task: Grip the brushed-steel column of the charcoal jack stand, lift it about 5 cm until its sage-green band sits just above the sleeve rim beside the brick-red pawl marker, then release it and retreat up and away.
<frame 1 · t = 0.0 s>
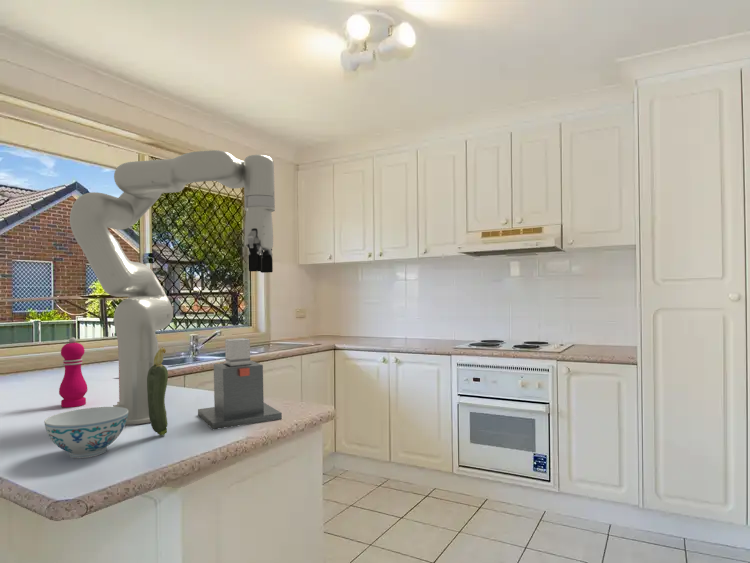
hand: (261, 271, 129), 37 cm above the counter, tool pointing down, fingers open, 9 cm apart
vegetable: (158, 436, 115), on the counter
chinaware: (88, 453, 104), on the counter
stand base: (238, 416, 131), on the counter
pepper mill: (73, 405, 149), on the counter
column: (238, 374, 131), point 11 cm above the counter, slide at 0.0 cm
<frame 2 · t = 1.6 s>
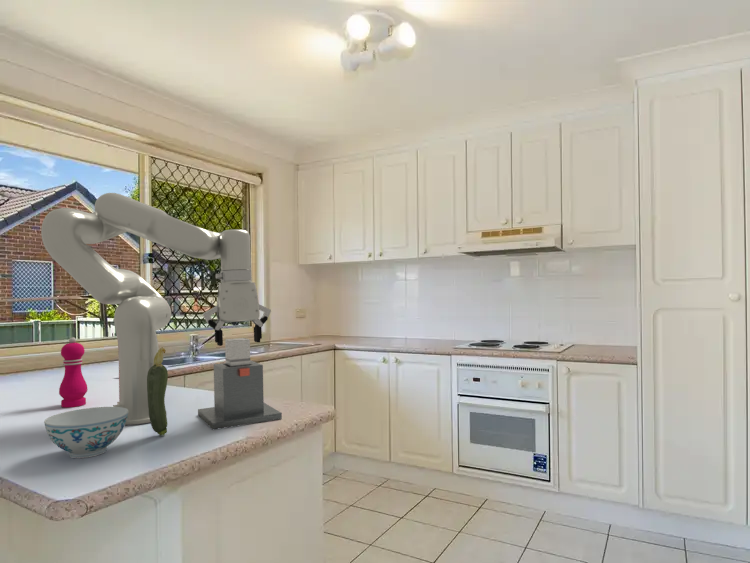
hand: (238, 343, 131), 19 cm above the counter, tool pointing down, fingers open, 9 cm apart
nothing on the counter moved.
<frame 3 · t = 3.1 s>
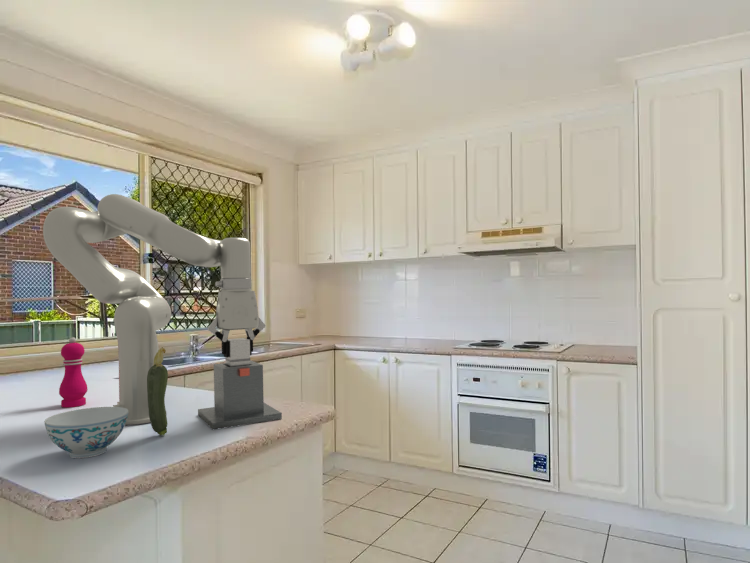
hand: (237, 355, 131), 16 cm above the counter, tool pointing down, fingers closed on column, 5 cm apart
column: (238, 374, 131), point 11 cm above the counter, slide at 0.0 cm, touching gripper
everything else where it was.
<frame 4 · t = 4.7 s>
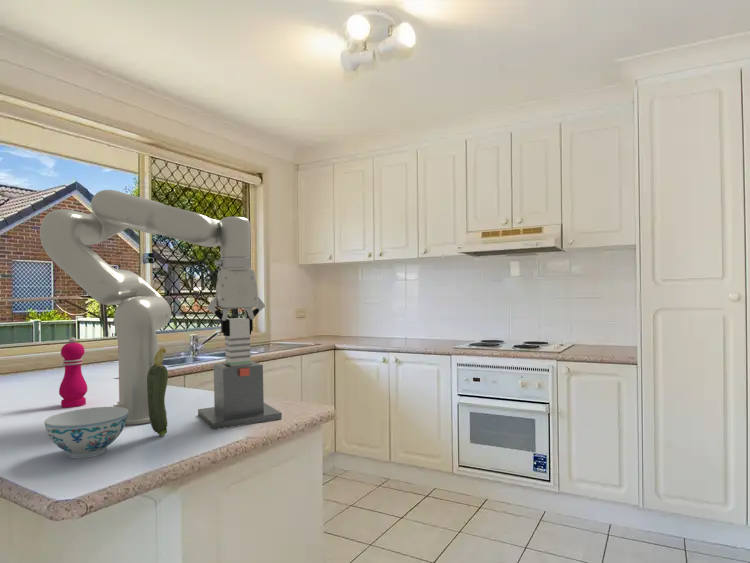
hand: (237, 334, 131), 21 cm above the counter, tool pointing down, fingers closed on column, 5 cm apart
column: (237, 354, 131), point 16 cm above the counter, slide at 5.3 cm, touching gripper
everything else where it was.
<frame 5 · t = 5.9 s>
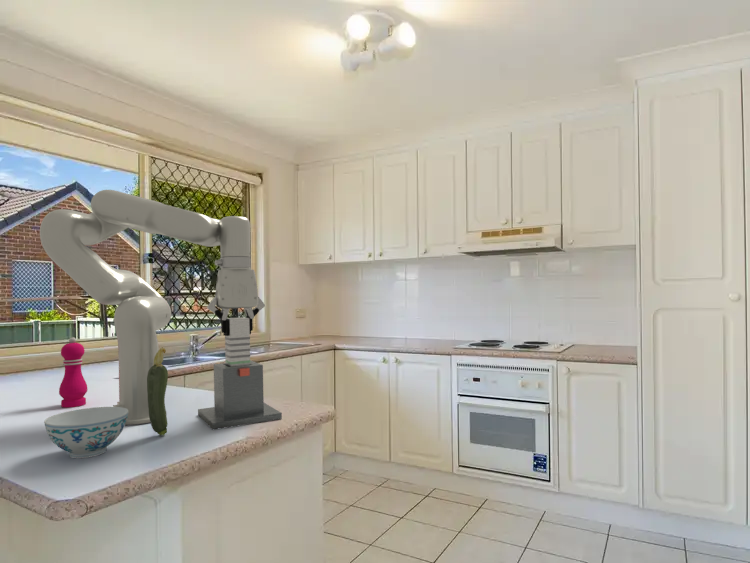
hand: (237, 334, 131), 21 cm above the counter, tool pointing down, fingers closed on column, 5 cm apart
column: (237, 353, 131), point 16 cm above the counter, slide at 5.5 cm, touching gripper
everything else where it was.
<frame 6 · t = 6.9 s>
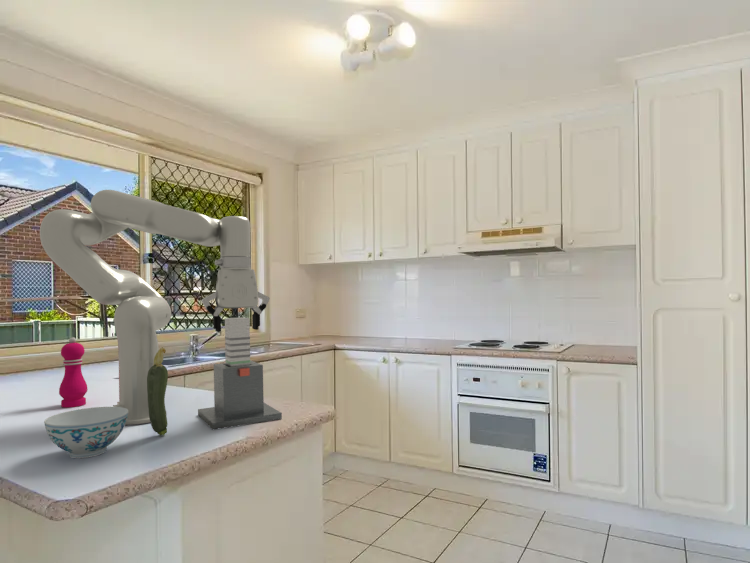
hand: (237, 330, 131), 22 cm above the counter, tool pointing down, fingers open, 9 cm apart
column: (237, 353, 131), point 16 cm above the counter, slide at 5.5 cm
everything else where it was.
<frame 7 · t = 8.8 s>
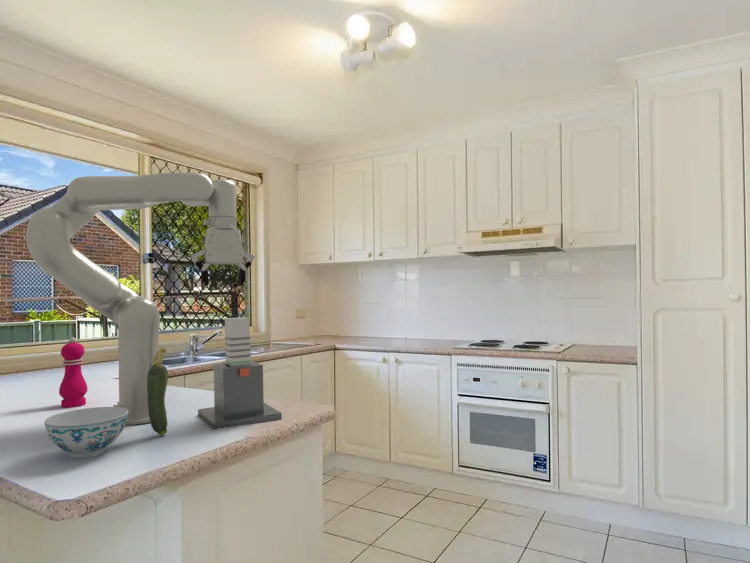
hand: (223, 285, 143), 34 cm above the counter, tool pointing down, fingers open, 9 cm apart
nothing on the counter moved.
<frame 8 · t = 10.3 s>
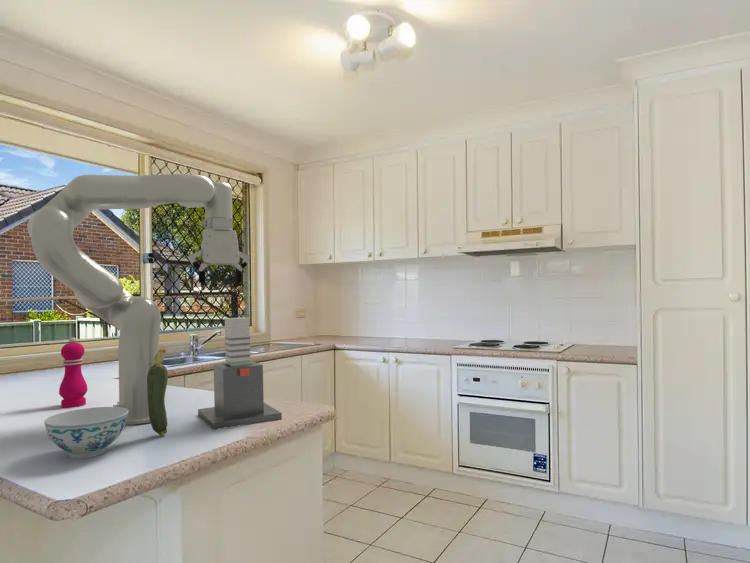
hand: (220, 285, 146), 34 cm above the counter, tool pointing down, fingers open, 9 cm apart
nothing on the counter moved.
at the end: column slide at 5.5 cm; the gripper is holding nothing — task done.
